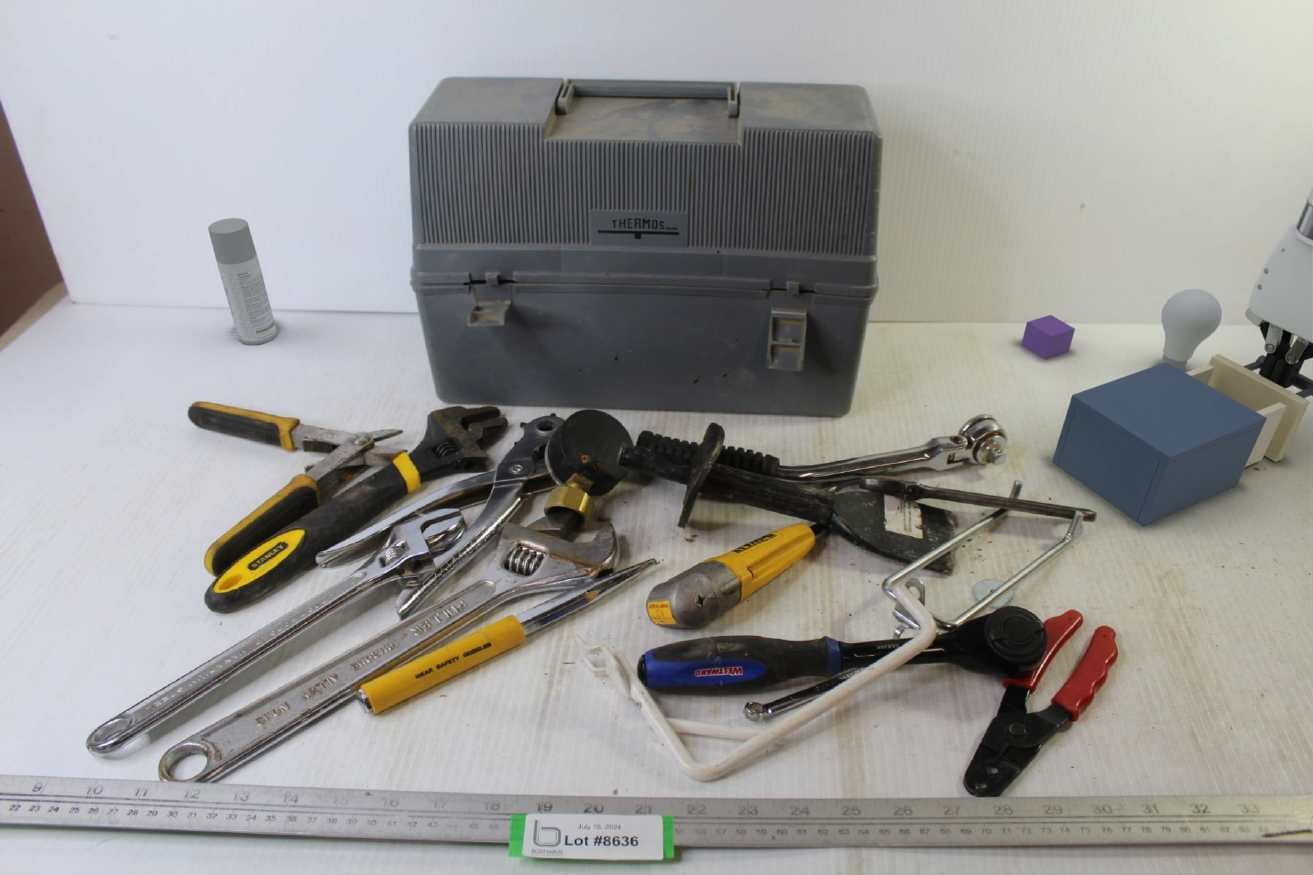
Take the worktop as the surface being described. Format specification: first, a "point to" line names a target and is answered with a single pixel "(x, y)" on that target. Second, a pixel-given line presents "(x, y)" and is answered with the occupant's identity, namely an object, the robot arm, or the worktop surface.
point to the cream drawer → (1260, 401)
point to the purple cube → (1047, 337)
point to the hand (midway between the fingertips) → (1272, 386)
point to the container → (242, 280)
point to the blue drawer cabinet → (1156, 442)
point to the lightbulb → (1188, 324)
